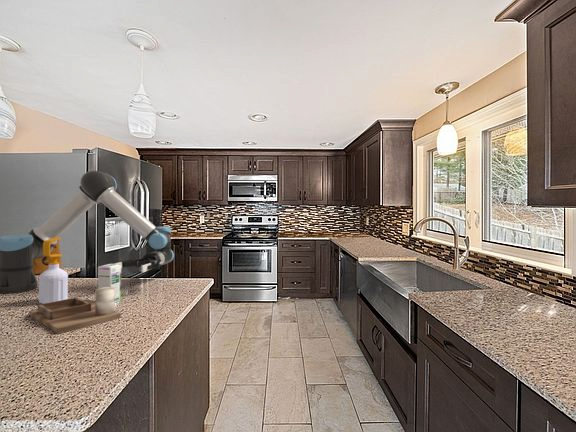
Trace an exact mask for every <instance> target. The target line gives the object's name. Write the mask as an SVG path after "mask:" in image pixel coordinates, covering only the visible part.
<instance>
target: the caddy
mask: <svg viewBox="0 0 576 432" xmlns="http://www.w3.org/2000/svg"><path fill="white" fill-rule="evenodd" d="M94 300H95V301H93V300H90V299H88V298H87V299H81V298H79V297H71V298H68V299H66V300H60V301H55V302H50V303H44V304H42V303H39V304H37V309H31V310H28V315H29V316H30V317H31V318H33V319H34V320H36V321H37V322H39V323H40V324H42V325H44V326H45V327H47V328H48V329H49V330H51V331H53V332H54V333H56V334H57V335H60V334H63V333H67V332H72V331H75V330H79V329H82V328H86V327H90V326H94V325H98V324H102V323H105V322H110V321H114V320H116V319H117V320H118V319H121V314H122V313H120V312H118V311H116V310H115V303H116V302H115V288H113V287H103V288H98V287H97V288H96V289H95V299H94ZM114 302H115V303H114Z"/></svg>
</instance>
